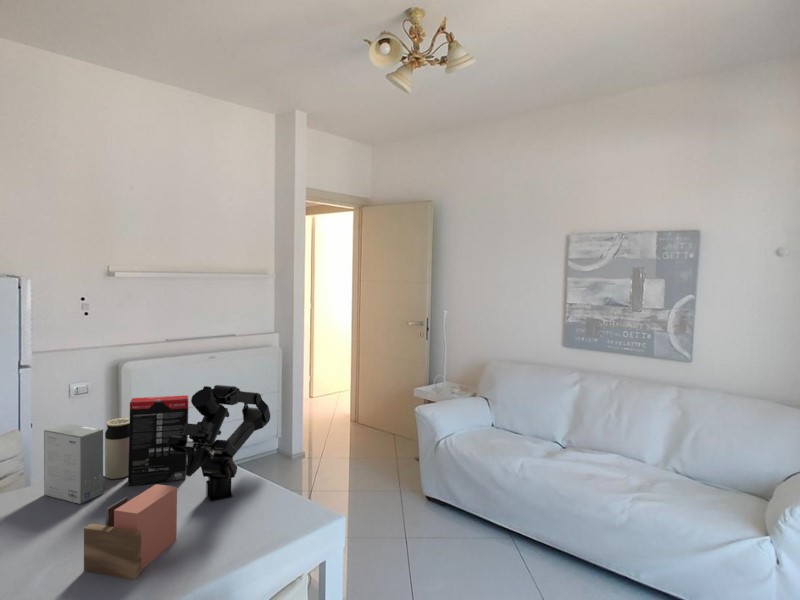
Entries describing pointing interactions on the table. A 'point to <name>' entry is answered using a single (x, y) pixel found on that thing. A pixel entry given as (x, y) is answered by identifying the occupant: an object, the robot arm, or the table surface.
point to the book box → (151, 519)
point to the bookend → (111, 511)
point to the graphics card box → (156, 439)
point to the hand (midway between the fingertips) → (188, 475)
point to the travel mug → (117, 448)
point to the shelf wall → (112, 551)
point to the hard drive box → (73, 462)
